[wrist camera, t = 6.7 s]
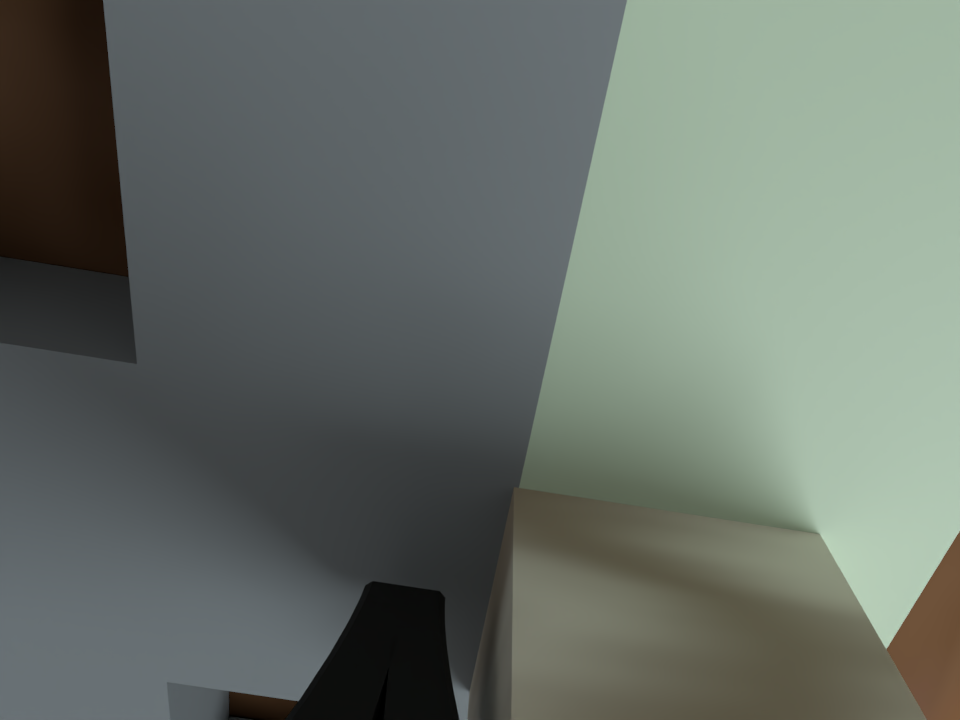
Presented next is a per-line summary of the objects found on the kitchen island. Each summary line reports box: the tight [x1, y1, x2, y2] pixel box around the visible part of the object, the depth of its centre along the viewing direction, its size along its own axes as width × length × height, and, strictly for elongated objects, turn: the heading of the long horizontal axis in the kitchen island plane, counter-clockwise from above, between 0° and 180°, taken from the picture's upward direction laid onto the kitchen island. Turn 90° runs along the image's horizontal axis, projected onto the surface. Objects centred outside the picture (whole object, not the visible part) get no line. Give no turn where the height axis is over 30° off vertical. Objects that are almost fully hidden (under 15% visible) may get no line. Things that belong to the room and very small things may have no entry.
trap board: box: [0, 0, 960, 720], centre depth 13 cm, size 28×20×3 cm
